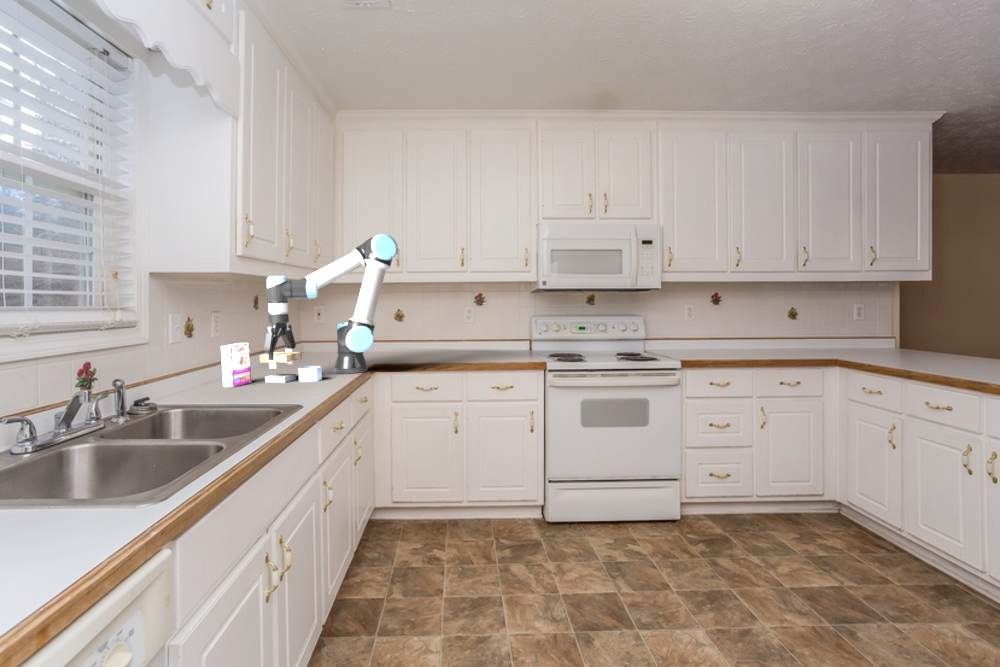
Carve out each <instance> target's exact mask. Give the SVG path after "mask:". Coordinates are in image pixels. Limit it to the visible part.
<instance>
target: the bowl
mask: <svg viewBox="0 0 1000 667" xmlns="http://www.w3.org/2000/svg"><path fill="white" fill-rule="evenodd" d="M297 370H298V372H297V374H298V382H300V383H310V382H311V383H312V382H319V381H320V382H321V381H322V380H323V370H322V366H321V365H307V366H304V365H303V366H300V367H298V368H297Z"/></svg>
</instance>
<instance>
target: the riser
mask: <svg viewBox="0 0 1000 667" xmlns="http://www.w3.org/2000/svg"><path fill="white" fill-rule="evenodd" d="M294 381H297V373H275V374H269V375H265V376H264V382H265V383H269V384H271V383H272V384H273V383H274V384H275V383H276V384H286V383H289V382H294Z"/></svg>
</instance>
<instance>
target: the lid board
mask: <svg viewBox="0 0 1000 667" xmlns="http://www.w3.org/2000/svg"><path fill="white" fill-rule="evenodd" d="M275 352H276V364H277V363H286V362H291V361H293V362H294V361H299V360H302V359H303V355H302V353H303V352H302V351H293V352H286V351H275ZM259 363H266V364H267V363H269V358H268V353H264V354H260V355H259Z"/></svg>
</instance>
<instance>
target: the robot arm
mask: <svg viewBox="0 0 1000 667" xmlns="http://www.w3.org/2000/svg"><path fill="white" fill-rule="evenodd" d="M398 248H399V247H398V243H397V242H396V240H395V238H393V237H392V236H391V235H389V234H386V233H384V234H382V233H379V234H376V235H375V236H373V237H369V238H368V239H366V240H365V241H364V242H363V243H361V244H360V245H358V246H357V247H354V248H353V249H352V252H350V253H348V254H346V255H345V256H342V257H341V258H338V259H336V260H334V261H333V262H331V263H329V264H327V265H325V266H323V267H321V268H319V269H317V270H315V271H313V272H311V273H309V274H308V275H306V276H304V277H302V278H300V279H298V280H288V279H287V276H285V275H280V276H279V275H271V276H270V275H269V276H268V277H267V278H266V292H267V293H266V294H267V305H268V306H267V307H268V313H269V315H268V323H269V324H271V326H267V327H266V334H265V341H264V349H263V351H264V352H265V353H267V354H268V358H269V364H268V366H269V369H277V368H278V367H277V363H276V352H277V351H275V349H276V347H277V344H278V341H279V339H280V337H281V339H282V341H283V343H284V345H285V347H286V348H285V352H294V351H293V350H295V348H296V340H295V338H294V337H295V336H294V333H293V328H292V326H293V325H291V324H287V323H290V322H289V320H290V319H289V302H288V300H293V299H295V300H301V299H309V300H310V299H316V298H317V297H318V293H319V292H318V290H319V289H321V288H323V287H326V285H329V284H331V283H333V282H334V281H335V282H336V280H339V279H341V278H342V277H344V276H345V275H347V274H350V273H351V272H354V271H355V270H357V269H359V268H361V267H362V268H365V267H366V268H365V272H364V275H363V279H362V283H361V287H360V289H359V294H358V298H357V302H356V306H355V308H354V312H353V316H352V317H350V318H349V319H348V322H340V323H338V324H337V325H336V326H337V327H336V341H337V358H336V360H335V364H334V368H333V370H334V371H333V372H334V373H335V374H358V373H359V374H360V373H365V372H368V370H369V368H368V364H367V361H366V358H365V356H364V352H367V351H368V350H370V349H371V348H372V346H373V344H374V341H375V336H374V335H375V334H374V331H375V327H376V325H375V323H374V317H375V314H376V310H377V305H378V302H379V298H380V295H381V290H382V287H383V284H384V283H383V282H384V279H385V275H386V271H387V270H388V269H390V268H391V265H392V261H393V259H394V258H395V257H396V255H397V253H398ZM285 363H286V365H294V361H291V362H285Z"/></svg>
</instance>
